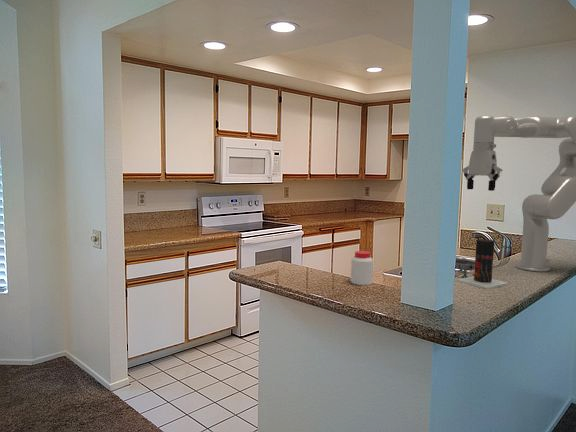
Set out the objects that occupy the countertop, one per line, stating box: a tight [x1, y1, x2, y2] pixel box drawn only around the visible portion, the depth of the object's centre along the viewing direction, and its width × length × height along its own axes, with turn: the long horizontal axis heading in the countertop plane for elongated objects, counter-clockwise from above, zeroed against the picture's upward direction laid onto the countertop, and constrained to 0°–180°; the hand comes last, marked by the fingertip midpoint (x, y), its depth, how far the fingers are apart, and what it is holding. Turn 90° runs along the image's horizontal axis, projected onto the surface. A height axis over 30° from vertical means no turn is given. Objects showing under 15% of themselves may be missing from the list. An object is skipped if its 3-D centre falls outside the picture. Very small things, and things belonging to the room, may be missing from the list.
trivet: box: [457, 276, 508, 290], centre depth 161 cm, size 12×12×1 cm
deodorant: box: [473, 238, 495, 283], centre depth 161 cm, size 6×6×15 cm
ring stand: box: [454, 258, 475, 279], centre depth 174 cm, size 11×11×5 cm
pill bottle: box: [350, 250, 374, 286], centre depth 159 cm, size 8×8×11 cm
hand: (480, 189), depth 180 cm, fingers open, 9 cm apart
